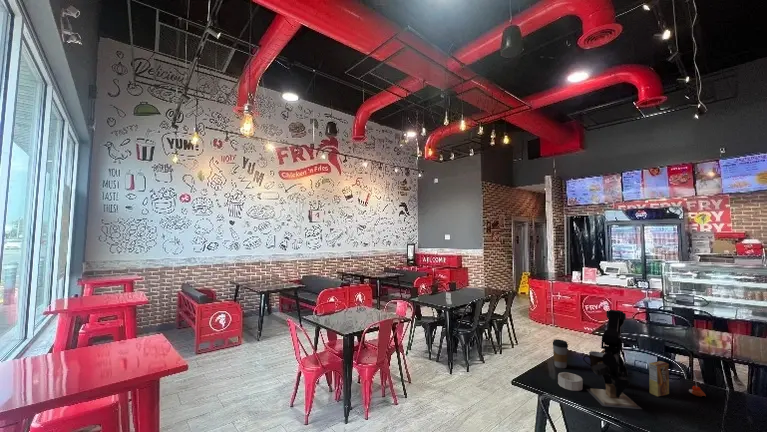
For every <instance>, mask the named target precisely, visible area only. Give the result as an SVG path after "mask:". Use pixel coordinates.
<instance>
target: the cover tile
mask: <svg viewBox="0 0 767 432" xmlns="http://www.w3.org/2000/svg"><path fill="white" fill-rule="evenodd" d="M589 389H590V391H591V392H592V393H593V394H594V395H595V396H596V397H597V398H598V399H599V400H600V401H601V402H602V403H603V404H604V405H616V406H629V407H637V405H638V404H637V403H636V402H635V401H634V400H633V399H632V398H630V397H629V396H628V395H626V394H625V393H624V392H623V393H624V394H623V393H622V394H621V395H620V397H616V393H615V386H614V385H613V384H606V386H605V389H602V388H589ZM627 396H628V397H629V398H630V399H629V398H628V397H627ZM633 401H634V402H635V403H636V404H637V405H636V404H635V403H634V402H633Z"/></svg>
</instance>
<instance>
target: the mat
mask: <svg viewBox="0 0 767 432" xmlns="http://www.w3.org/2000/svg"><path fill="white" fill-rule="evenodd" d="M585 390H586V391H587V392H588V393H589V394H590V395H591V396H592V397H593V398H594V399H595V400H596V401H597V402H598V403H599V404H600V405H601V406H602V407H608V408H609V407H610V408H611V407H612V408H621V409H622V408H623V409H634V410H635V409H636V410H643V408H642V407H641V406H639V405H638V404H637V403H636V402H635V401H634V400H632V401H633V402H634V403H635V404H636V405H637V407H629V406H616V405H604V404H603V403H602V402H601V401H600V400H599V399H598V398H597V397H596V396H595V395H594V394H593V393H592V392H591V391H590V388H585ZM622 393H623V394H625V393H624V391H623V392H622ZM626 396H627V397H628V398H629V399H631V398H630V397H629V396H628V395H626Z"/></svg>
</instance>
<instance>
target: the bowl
mask: <svg viewBox="0 0 767 432" xmlns="http://www.w3.org/2000/svg"><path fill="white" fill-rule="evenodd" d="M583 381H584V379H583V378H582V376H580V375H578V374H575V373H571V372H566V371H563V372H559V373H558V374H557V384H558V385H559V387H561V388H563V389H565V390H568V391H574V392H579V391H582V390H583V387H584V386H583V385H584V384H583V383H584V382H583Z"/></svg>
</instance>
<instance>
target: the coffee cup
mask: <svg viewBox="0 0 767 432" xmlns="http://www.w3.org/2000/svg"><path fill="white" fill-rule="evenodd" d="M568 348H569V344H568V341H566V340H564V339H553V341H552V351H553V352H552V354H553V362H554V363H553V364H554V366H555V367H556V368H557V369H566V368H567V366H568V365H567V363H568V350H569V349H568Z"/></svg>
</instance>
